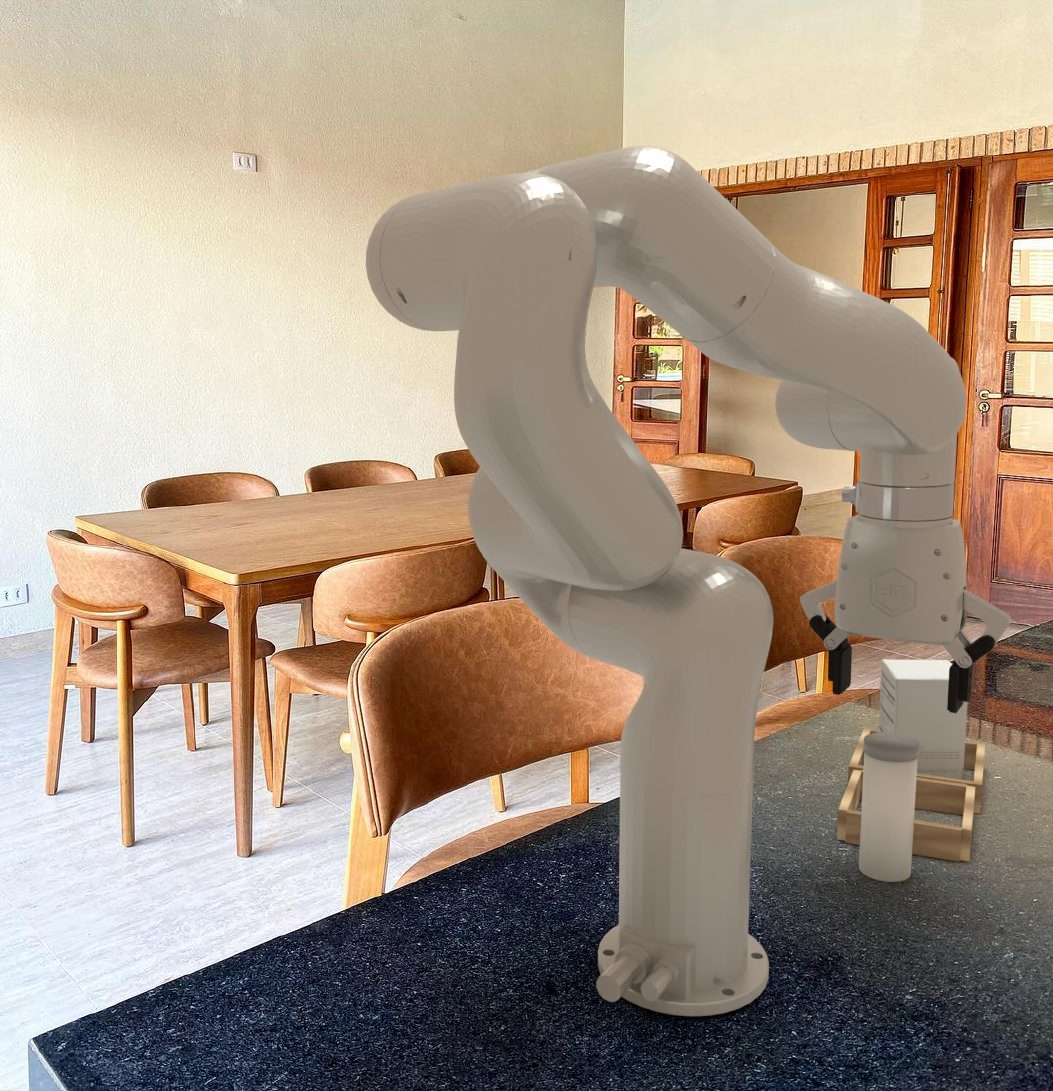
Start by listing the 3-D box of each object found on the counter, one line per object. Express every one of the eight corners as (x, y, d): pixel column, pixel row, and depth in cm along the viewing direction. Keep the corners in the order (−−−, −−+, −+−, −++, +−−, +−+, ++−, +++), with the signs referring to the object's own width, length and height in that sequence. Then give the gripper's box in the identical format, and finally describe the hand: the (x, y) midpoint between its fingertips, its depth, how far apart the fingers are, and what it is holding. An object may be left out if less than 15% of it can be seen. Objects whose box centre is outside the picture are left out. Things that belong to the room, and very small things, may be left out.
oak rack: (976, 864, 97) (978, 833, 97) (829, 840, 102) (831, 810, 102) (983, 769, 119) (985, 743, 119) (862, 752, 124) (864, 727, 124)
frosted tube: (904, 887, 93) (912, 754, 91) (851, 873, 96) (857, 744, 93) (917, 866, 97) (925, 738, 95) (865, 853, 99) (872, 729, 97)
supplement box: (943, 769, 119) (950, 658, 117) (963, 796, 112) (971, 678, 110) (874, 767, 120) (880, 657, 118) (889, 794, 113) (896, 677, 111)
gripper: (789, 503, 92) (785, 695, 95) (1008, 517, 83) (995, 729, 86) (818, 492, 98) (813, 673, 101) (1024, 503, 89) (1012, 702, 92)
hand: (896, 699), depth 94 cm, fingers open, 9 cm apart
